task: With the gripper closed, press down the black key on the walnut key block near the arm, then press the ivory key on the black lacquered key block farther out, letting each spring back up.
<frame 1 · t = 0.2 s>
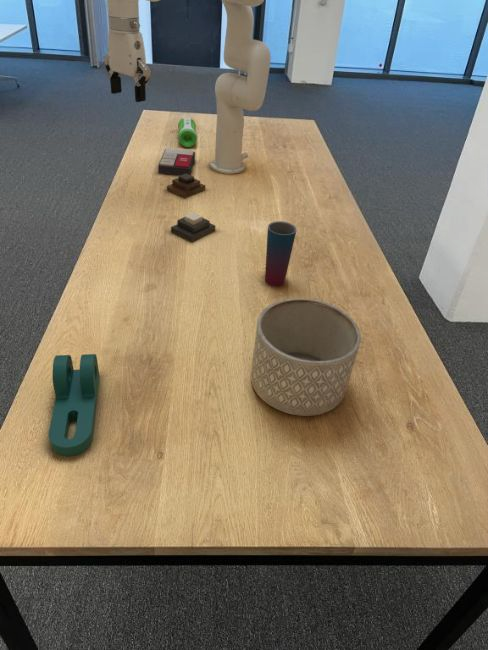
hand: (128, 97, 136), 31 cm above the table, tool pointing down, fingers open, 9 cm apart
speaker: (187, 141, 204), on the table
walnut key block: (186, 190, 166), on the table
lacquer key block: (193, 231, 144), on the table
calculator: (177, 167, 181), on the table
cup: (274, 281, 127), on the table
planter: (297, 385, 99), on the table
ivory key: (193, 219, 142), point 4 cm above the table, slide at 0.1 cm
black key: (186, 178, 164), point 4 cm above the table, slide at 0.1 cm
bracket: (76, 414, 89), on the table
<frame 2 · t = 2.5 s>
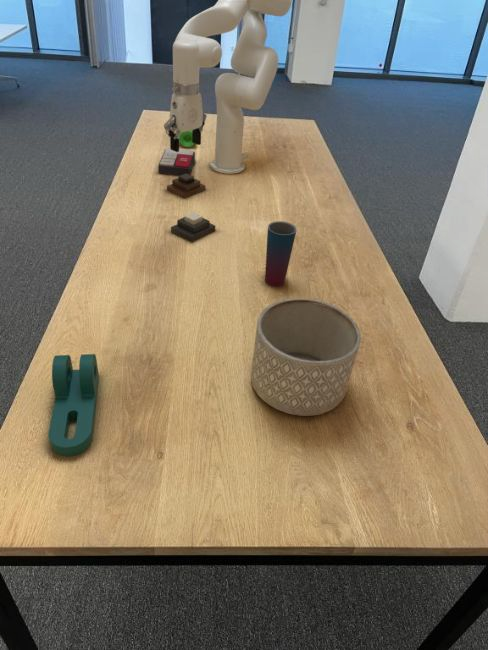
hand: (185, 147, 157), 14 cm above the table, tool pointing down, fingers open, 9 cm apart
nothing on the table moved.
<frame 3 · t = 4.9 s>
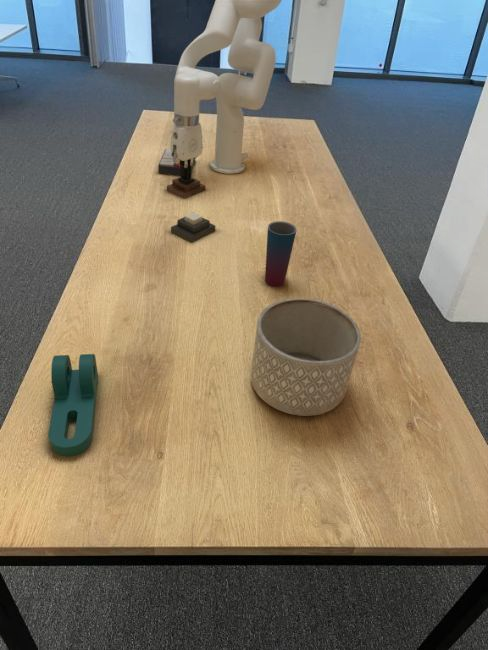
hand: (185, 177, 163), 4 cm above the table, tool pointing down, fingers closed
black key: (186, 180, 164), point 3 cm above the table, slide at -0.4 cm, touching gripper
everything else where it was.
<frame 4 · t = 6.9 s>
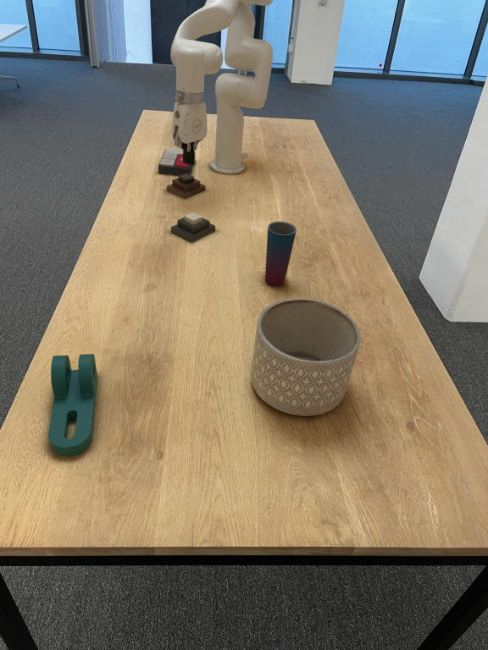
hand: (188, 163, 148), 14 cm above the table, tool pointing down, fingers closed
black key: (186, 178, 164), point 4 cm above the table, slide at 0.1 cm
everything else where it was.
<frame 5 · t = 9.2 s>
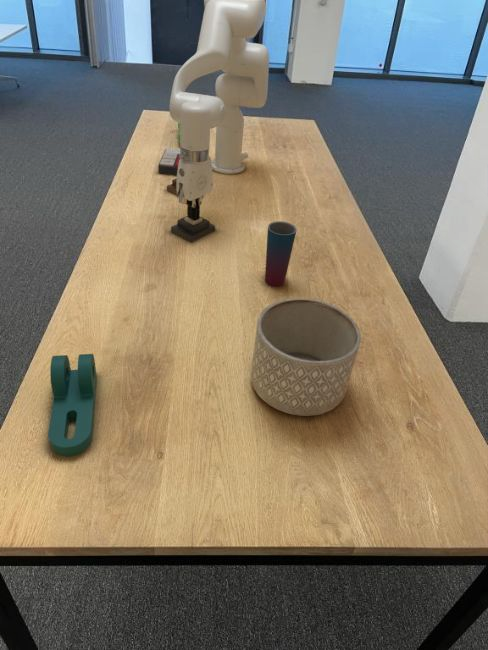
hand: (193, 218, 142), 4 cm above the table, tool pointing down, fingers closed
ivory key: (193, 220, 142), point 3 cm above the table, slide at -0.5 cm, touching gripper
everything else where it was.
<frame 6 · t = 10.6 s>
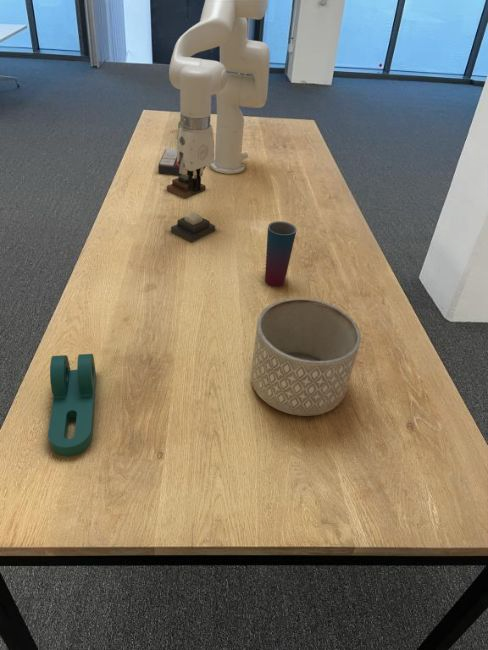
hand: (194, 190, 137), 12 cm above the table, tool pointing down, fingers closed
ivory key: (193, 219, 142), point 4 cm above the table, slide at 0.1 cm
everything else where it was.
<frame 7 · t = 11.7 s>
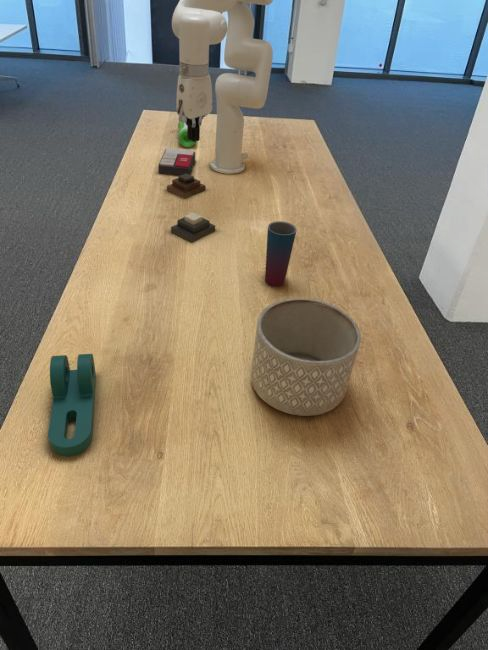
hand: (193, 139, 142), 21 cm above the table, tool pointing down, fingers closed
nothing on the table moved.
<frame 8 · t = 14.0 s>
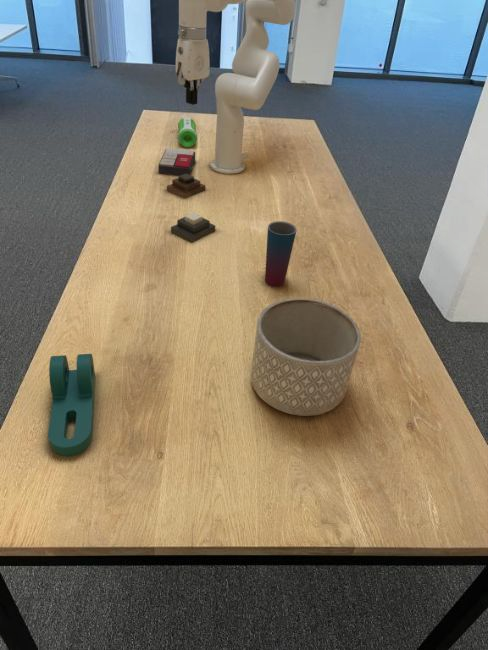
hand: (191, 103, 151), 27 cm above the table, tool pointing down, fingers closed
nothing on the table moved.
at the end: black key pushed in 1.1 cm at the most during the clip, back to where it started at the end; ivory key pushed in 1.1 cm at the most during the clip, back to where it started at the end; ivory key slide at 0.1 cm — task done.
